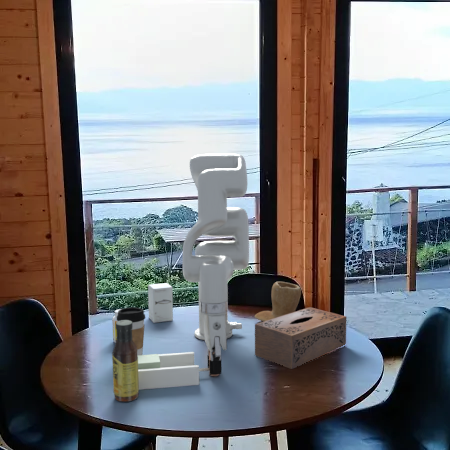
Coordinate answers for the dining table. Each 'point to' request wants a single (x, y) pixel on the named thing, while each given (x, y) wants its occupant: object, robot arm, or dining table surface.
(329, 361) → the dining table surface
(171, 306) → the supplement box
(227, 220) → the robot arm
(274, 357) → the tissue box cover
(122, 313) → the coffee cup
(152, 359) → the sliding handle
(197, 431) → the dining table surface
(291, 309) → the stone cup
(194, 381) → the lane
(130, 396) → the sauce bottle
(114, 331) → the supplement bottle
